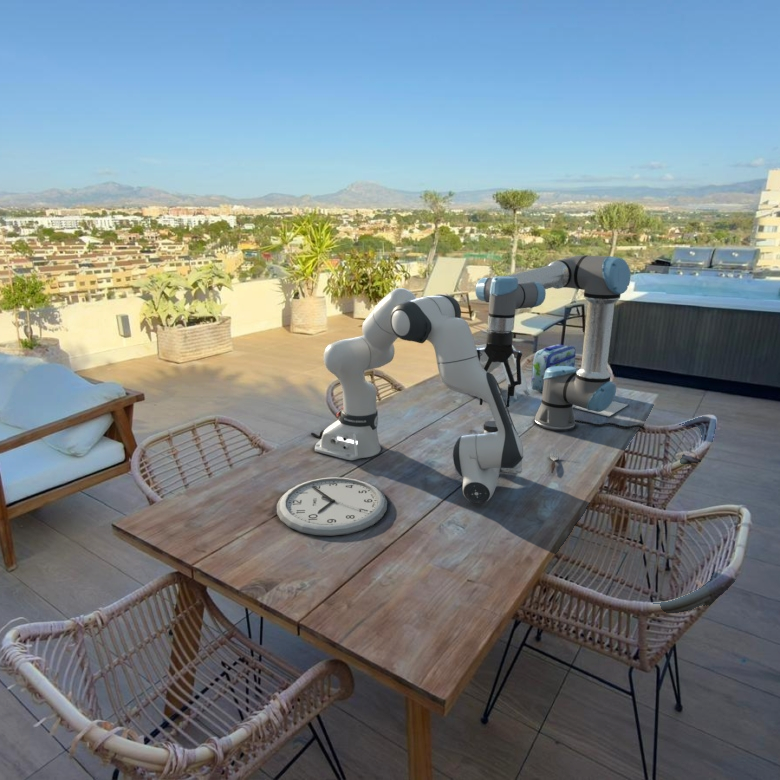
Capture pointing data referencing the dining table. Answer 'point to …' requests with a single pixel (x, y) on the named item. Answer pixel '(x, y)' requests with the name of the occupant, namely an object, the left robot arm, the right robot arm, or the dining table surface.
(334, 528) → the wall clock
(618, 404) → the invitation card
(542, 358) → the lunch box
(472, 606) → the dining table surface
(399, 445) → the dining table surface
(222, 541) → the dining table surface
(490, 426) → the lid
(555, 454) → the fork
